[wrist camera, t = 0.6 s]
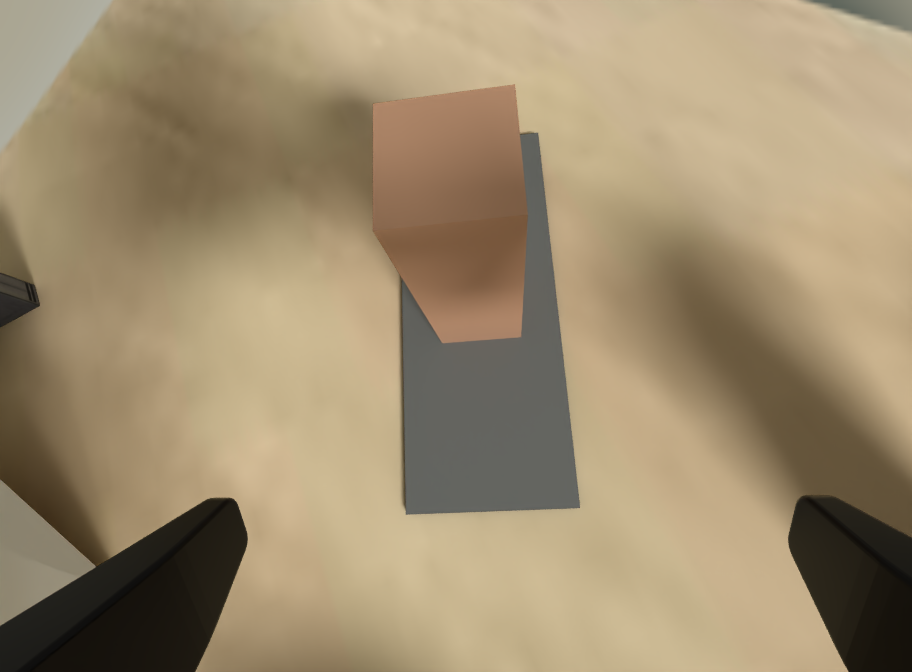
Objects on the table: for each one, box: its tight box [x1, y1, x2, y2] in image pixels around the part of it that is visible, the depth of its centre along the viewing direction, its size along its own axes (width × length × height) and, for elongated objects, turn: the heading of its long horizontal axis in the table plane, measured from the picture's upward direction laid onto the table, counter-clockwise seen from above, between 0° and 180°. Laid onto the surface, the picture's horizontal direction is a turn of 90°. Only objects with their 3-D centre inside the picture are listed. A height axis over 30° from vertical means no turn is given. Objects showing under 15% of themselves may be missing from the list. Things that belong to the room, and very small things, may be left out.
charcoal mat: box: [402, 133, 580, 515], centre depth 24 cm, size 20×8×1 cm, turn 3°
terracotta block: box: [373, 84, 528, 343], centre depth 18 cm, size 4×4×12 cm
